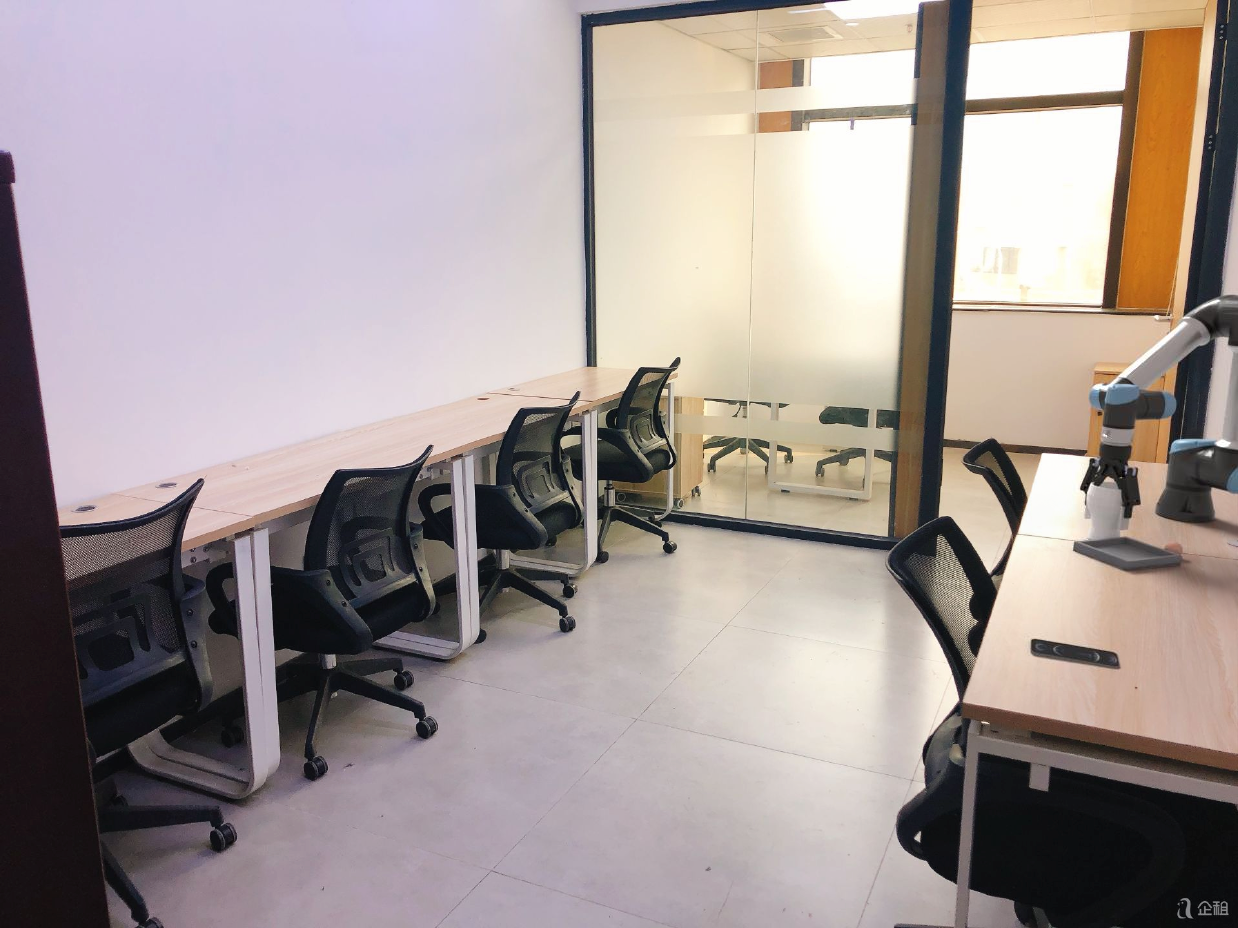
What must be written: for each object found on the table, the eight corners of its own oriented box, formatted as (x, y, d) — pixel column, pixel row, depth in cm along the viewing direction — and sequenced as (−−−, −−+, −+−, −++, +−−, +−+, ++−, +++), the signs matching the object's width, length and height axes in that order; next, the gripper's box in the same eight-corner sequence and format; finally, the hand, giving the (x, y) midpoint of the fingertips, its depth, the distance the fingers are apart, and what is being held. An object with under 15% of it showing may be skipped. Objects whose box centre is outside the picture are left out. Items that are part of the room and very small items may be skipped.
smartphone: (1120, 667, 168) (1030, 651, 174) (1119, 672, 169) (1030, 656, 174) (1117, 652, 175) (1030, 637, 181) (1116, 656, 175) (1030, 641, 181)
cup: (1131, 546, 243) (1139, 491, 240) (1088, 543, 245) (1094, 488, 242) (1118, 535, 253) (1125, 482, 250) (1077, 532, 255) (1083, 479, 252)
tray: (1124, 545, 244) (1125, 536, 244) (1180, 564, 228) (1182, 555, 228) (1073, 550, 239) (1074, 541, 239) (1126, 570, 223) (1127, 561, 223)
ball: (1171, 553, 237) (1173, 539, 236) (1185, 558, 233) (1187, 543, 232) (1159, 555, 236) (1161, 540, 235) (1173, 560, 232) (1175, 544, 231)
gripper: (1071, 435, 253) (1062, 513, 257) (1141, 452, 231) (1129, 536, 236) (1093, 434, 255) (1083, 511, 260) (1164, 450, 234) (1152, 534, 238)
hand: (1105, 523), depth 248 cm, fingers closed on cup, 11 cm apart
